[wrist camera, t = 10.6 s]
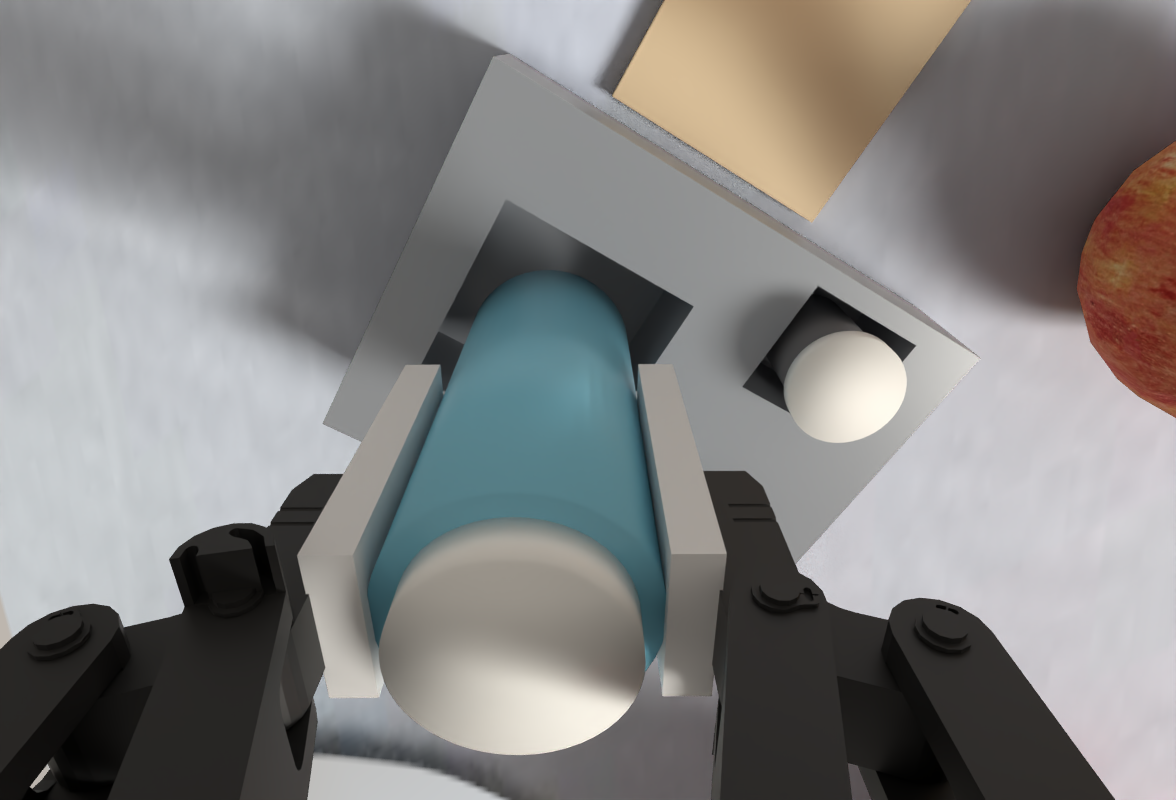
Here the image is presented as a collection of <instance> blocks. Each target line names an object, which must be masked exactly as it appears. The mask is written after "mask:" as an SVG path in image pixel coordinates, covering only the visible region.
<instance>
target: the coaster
mask: <svg viewBox="0 0 1176 800" xmlns="http://www.w3.org/2000/svg"><path fill="white" fill-rule="evenodd" d="M970 1H971V0H664V1H663V3H662V4H661V6H660V8H659V10H658V12H657V14H656V15H655V17H654V19H653V21H652V23H651V25H650V26H649V28H648V30H647V32H646V34H645V36H644V37H643V39H642V41H641V43H640V45H639V47H638V48H637V50H636V52H635V54H634V56H633V58H632V59H631V61H630V63H629V65H628V67H627V69H626V70H625V72H624V74H623V76H622V78H621V80H620V81H619V83H618V85H617V87H616V89H615V91H614V92H613V94H612V96H613V97H614V98H616V99H617V100H619V101H620V102H622V103H624V104H625V105H627V106H628V107H630V108H632V109H633V110H635V111H636V112H638V113H639V114H641V115H643V116H644V117H646V118H647V119H649V120H650V121H652V122H654V123H655V124H657V125H658V126H660V127H662V128H663V129H665V130H666V131H668V132H669V133H671V134H673V135H674V136H676V137H677V138H679V139H681V140H682V141H684V142H685V143H687V144H688V145H690V146H692V147H693V148H695V149H696V150H698V151H699V152H701V153H703V154H704V155H706V156H707V157H709V158H711V159H712V160H714V161H715V162H717V163H718V164H720V165H722V166H723V167H725V168H726V169H728V170H730V171H731V172H733V173H734V174H736V175H737V176H739V177H741V178H742V179H744V180H745V181H747V182H748V183H750V184H752V185H753V186H755V187H756V188H758V189H760V190H761V191H763V192H764V193H766V194H767V195H769V196H771V197H772V198H774V199H775V200H777V201H779V202H780V203H782V204H783V205H785V206H786V207H788V208H790V209H791V210H793V211H794V212H796V213H797V214H799V215H801V216H802V217H804V218H805V219H807V220H809V221H810V222H813V221H814V219H815V218H816V216H817V215H818V214H819V212H820V211H821V209H822V208H823V207H824V205H825V204H826V202H827V201H828V200H829V198H830V197H831V195H832V194H833V193H834V191H835V190H836V188H837V187H838V186H839V184H840V183H841V181H842V180H843V179H844V177H845V176H846V174H847V173H848V172H849V170H850V169H851V167H852V166H853V165H854V163H855V162H856V160H857V159H858V158H859V156H860V155H861V154H862V152H863V151H864V149H865V148H866V147H867V145H868V144H869V142H870V141H871V140H872V138H873V137H874V135H875V134H876V133H877V131H878V130H879V128H880V127H881V126H882V124H883V123H884V121H885V120H886V119H887V117H888V116H889V114H890V113H891V112H892V110H893V109H894V107H895V106H896V105H897V103H898V102H899V100H900V99H901V98H902V96H903V95H904V93H905V92H906V91H907V89H908V88H909V86H910V85H911V84H912V82H913V81H914V79H915V78H916V77H917V75H918V74H919V72H920V71H921V70H922V68H923V67H924V66H925V64H926V63H927V61H928V60H929V59H930V57H931V56H932V54H933V53H934V52H935V50H936V49H937V47H938V46H939V45H940V43H941V42H942V40H943V39H944V38H945V36H946V35H947V33H948V32H949V31H950V29H951V28H952V26H953V25H954V24H955V22H956V21H957V19H958V18H959V17H960V15H961V14H962V12H963V11H964V10H965V8H966V7H967V5H968V4H969V3H970Z"/></svg>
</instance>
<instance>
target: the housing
mask: <svg viewBox="0 0 1176 800" xmlns="http://www.w3.org/2000/svg"><path fill="white" fill-rule="evenodd" d="M539 270H557V271H563V272H568V273H571V274H574V275H578V276H580V277H582V278H584V279H586V280H588V281H590V282H591V283H593V284H595V285H596V286H597V287H599V288H600V289H601V290H602V291H604V292H605V293H606V294H607V296H608V297H609V298H610V299H611V300H612V301H613V303H614V304H615V306H616V307H617V309H618V310H619V312H620V314H621V316H622V319H623V322H624V325H625V328H626V333H627V339H628V345H629V352H630V359H631V365H632V372H633V378H634V385H635V391H636V398H637V384H638V364H673V367H674V371H675V374H676V378H677V381H678V385H679V388H680V392H681V395H682V399H683V402H684V406H685V409H686V413H687V416H688V420H689V423H690V427H691V430H692V434H693V437H694V441H695V444H696V448H697V451H698V455H699V458H700V462H701V465H702V469H703V471H746V472H747V473H749V474H750V475H751V476H752V477H753V478H754V479H755V480H757V481H758V482H759V483H760V484H761V485H762V486H763V487H764V490H765V492H766V495H767V497H768V500H769V502H770V507H772V509H773V512H774V514H775V516H776V522H778V524H779V526H780V529H781V531H782V533H783V536H784V538H785V541H786V543H787V545H788V548H789V550H790V553H791V555H792V557H793V560H794V562H795V564H796V563H797V562H798V561H799V560H800V559H801V557H802V556H803V555H804V554H805V553H806V552H807V551H808V550H809V549H810V547H811V546H812V545H813V544H814V543H815V542H816V541H817V540H818V539H819V537H820V536H821V535H822V534H823V533H824V532H825V531H826V530H827V529H828V527H829V526H830V525H831V524H832V523H833V522H834V521H835V520H836V519H837V517H838V516H839V515H840V514H841V513H842V512H843V511H844V510H845V509H846V507H847V506H848V505H849V504H850V503H851V502H852V501H853V500H854V499H855V497H856V496H857V495H858V494H859V493H860V492H861V491H862V490H863V489H864V487H865V486H866V485H867V484H868V483H869V482H870V481H871V480H872V479H873V477H874V476H875V475H876V474H877V473H878V472H879V471H880V470H881V469H882V467H883V466H884V465H885V464H886V463H887V462H888V461H889V460H890V459H891V458H892V456H893V455H894V454H895V453H896V452H897V451H898V450H899V449H900V448H901V446H902V445H903V444H904V443H905V442H906V441H907V440H908V439H909V438H910V436H911V435H912V434H913V433H914V432H915V431H916V430H917V429H918V428H919V426H920V425H921V424H922V423H923V422H924V421H925V420H926V419H927V418H928V416H929V415H930V414H931V413H932V412H933V411H934V410H935V409H936V408H937V406H938V405H939V404H940V403H941V402H942V401H943V400H944V399H945V398H946V396H947V395H948V394H949V393H950V392H951V391H952V390H953V389H954V388H955V386H956V385H957V384H958V383H959V382H960V381H961V380H962V379H963V378H964V376H965V375H966V374H967V373H968V372H969V371H970V370H971V369H972V368H973V366H974V365H975V364H976V363H977V362H978V361H979V360H980V359H981V358H980V357H978V356H977V355H976V354H975V353H973V352H972V351H971V350H970V349H968V348H967V347H966V346H965V345H963V344H962V343H961V342H960V341H958V340H957V339H956V338H955V337H953V336H952V335H951V334H950V333H948V332H947V331H946V330H945V329H943V328H942V327H941V326H940V325H938V324H937V323H936V322H935V321H933V320H932V319H931V318H930V317H928V316H927V315H926V314H925V313H923V312H922V311H921V310H920V309H918V308H917V307H915V306H913V305H912V304H910V303H909V302H907V301H905V300H904V299H902V298H901V297H899V296H897V295H896V294H894V293H893V292H891V291H889V290H888V289H886V288H885V287H883V286H881V285H880V284H878V283H877V282H875V281H873V280H872V279H870V278H869V277H867V276H865V275H864V274H862V273H861V272H859V271H857V270H856V269H854V268H853V267H851V266H849V265H848V264H846V263H844V262H843V261H841V260H840V259H838V258H836V257H835V256H833V255H832V254H830V253H828V252H827V251H825V250H824V249H822V248H820V247H819V246H817V245H816V244H814V243H812V242H811V241H809V240H808V239H806V238H804V237H803V236H801V235H800V234H798V233H796V232H795V231H793V230H792V229H790V228H788V227H787V226H785V225H784V224H782V223H780V222H779V221H777V220H776V219H774V218H772V217H771V216H769V215H768V214H766V213H764V212H763V211H761V210H760V209H758V208H756V207H755V206H753V205H752V204H750V203H748V202H747V201H745V200H744V199H742V198H740V197H739V196H737V195H736V194H734V193H732V192H731V191H729V190H728V189H726V188H724V187H723V186H721V185H720V184H718V183H716V182H715V181H713V180H712V179H710V178H708V177H707V176H705V175H704V174H702V173H700V172H699V171H697V170H696V169H694V168H692V167H691V166H689V165H688V164H686V163H684V162H683V161H681V160H680V159H678V158H676V157H675V156H673V155H672V154H670V153H668V152H667V151H665V150H664V149H662V148H660V147H659V146H657V145H656V144H654V143H652V142H651V141H649V140H648V139H646V138H644V137H643V136H641V135H640V134H638V133H636V132H635V131H633V130H632V129H630V128H628V127H627V126H625V125H624V124H622V123H620V122H619V121H617V120H616V119H614V118H612V117H611V116H609V115H608V114H606V113H604V112H603V111H601V110H600V109H598V108H596V107H595V106H593V105H592V104H590V103H588V102H587V101H585V100H584V99H582V98H580V97H579V96H577V95H576V94H574V93H572V92H571V91H569V90H568V89H566V88H564V87H563V86H561V85H560V84H558V83H556V82H555V81H553V80H552V79H550V78H548V77H547V76H545V75H544V74H542V73H540V72H539V71H537V70H536V69H534V68H532V67H531V66H529V65H528V64H526V63H524V62H523V61H521V60H520V59H518V58H516V57H515V56H513V55H512V54H504V55H498V56H493V58H492V60H491V62H490V64H489V67H488V69H487V71H486V73H485V75H484V77H483V79H482V82H481V84H480V86H479V88H478V90H477V92H476V94H475V97H474V99H473V101H472V103H471V105H470V107H469V110H468V112H467V114H466V116H465V118H464V120H463V122H462V125H461V127H460V129H459V131H458V133H457V135H456V138H455V140H454V142H453V144H452V146H451V148H450V150H449V153H448V155H447V157H446V159H445V161H444V163H443V166H442V168H441V170H440V172H439V174H438V176H437V178H436V181H435V183H434V185H433V187H432V189H431V191H430V193H429V196H428V198H427V200H426V202H425V204H424V206H423V209H422V211H421V213H420V215H419V217H418V219H417V221H416V224H415V226H414V228H413V230H412V232H411V234H410V237H409V239H408V241H407V243H406V245H405V247H404V249H403V252H402V254H401V256H400V258H399V260H398V262H397V265H396V267H395V269H394V271H393V273H392V275H391V277H390V280H389V282H388V284H387V286H386V288H385V290H384V292H383V295H382V297H381V299H380V301H379V303H378V305H377V308H376V310H375V312H374V314H373V316H372V318H371V320H370V323H369V325H368V327H367V329H366V331H365V333H364V336H363V338H362V340H361V342H360V344H359V346H358V348H357V351H356V353H355V355H354V357H353V359H352V361H351V364H350V366H349V368H348V370H347V372H346V374H345V376H344V379H343V381H342V383H341V385H340V387H339V389H338V391H337V394H336V396H335V398H334V400H333V402H332V404H331V407H330V409H329V411H328V413H327V415H326V417H325V419H324V422H323V424H324V425H326V426H328V427H331V428H333V429H335V430H337V431H339V432H341V433H344V434H346V435H348V436H350V437H352V438H354V439H357V440H359V441H361V442H362V441H363V439H364V437H365V435H366V434H367V432H368V430H369V428H370V427H371V425H372V423H373V421H374V420H375V418H376V416H377V414H378V413H379V411H380V409H381V407H382V406H383V404H384V402H385V400H386V399H387V397H388V395H389V393H390V392H391V390H392V388H393V386H394V385H395V383H396V381H397V379H398V378H399V376H400V374H401V372H402V371H403V369H404V367H405V365H440V367H441V377H442V387H443V396H444V394H445V391H446V389H447V386H448V384H449V381H450V379H451V376H452V374H453V371H454V369H455V366H456V364H457V361H458V359H459V357H460V354H461V352H462V349H463V347H464V344H465V342H466V339H467V337H468V334H469V332H470V329H471V327H472V324H473V322H474V319H475V317H476V315H477V312H478V310H479V308H480V307H481V305H482V304H483V302H484V301H485V299H486V298H487V297H488V296H489V295H490V293H492V292H493V291H494V290H495V289H496V288H497V287H498V286H500V285H501V284H503V283H504V282H506V281H507V280H509V279H511V278H513V277H515V276H518V275H521V274H524V273H528V272H532V271H539ZM811 294H814V295H821V296H824V297H827V298H829V299H831V300H832V301H834V302H835V303H836V304H837V305H838V306H839V307H840V308H841V309H842V310H843V311H844V312H845V313H846V314H847V315H848V316H849V317H850V318H851V319H852V320H853V321H854V322H855V324H856V325H857V326H858V327H859V328H860V329H861V330H862V331H863V332H866V333H869V334H871V335H874V336H876V337H878V338H879V339H881V340H882V341H884V342H885V343H886V344H887V345H888V346H889V347H890V348H891V349H892V350H893V351H894V352H895V353H896V354H897V355H898V357H899V358H900V359H901V361H902V363H903V365H904V368H905V371H906V377H907V387H906V393H905V396H904V399H903V402H902V404H901V406H900V408H899V409H898V411H897V413H896V414H895V415H894V416H893V418H892V419H891V420H890V421H889V422H888V423H887V424H886V425H884V426H883V427H882V428H881V429H879V430H878V431H876V432H875V433H873V434H871V435H869V436H867V437H864V438H862V439H859V440H855V441H851V442H845V443H831V442H825V441H821V440H818V439H816V438H813V437H811V436H810V435H808V434H806V433H805V432H804V431H803V430H802V429H800V427H799V426H798V425H797V424H796V422H795V421H794V419H793V417H792V416H791V414H790V412H789V410H788V408H787V405H786V403H785V399H784V386H783V384H782V382H781V381H780V379H779V377H778V376H777V374H776V372H775V370H774V369H773V367H772V365H771V363H770V362H769V360H768V358H767V356H766V354H767V353H768V352H769V350H770V349H771V348H772V346H773V345H774V344H775V342H776V341H777V340H778V338H779V337H780V336H781V334H782V333H783V332H784V330H785V329H786V328H787V326H788V325H789V324H790V322H791V321H792V320H793V318H794V317H795V316H796V314H797V313H798V312H799V310H800V309H801V308H802V306H803V305H804V304H805V302H806V301H807V300H808V298H809V297H810V296H811Z"/></svg>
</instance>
